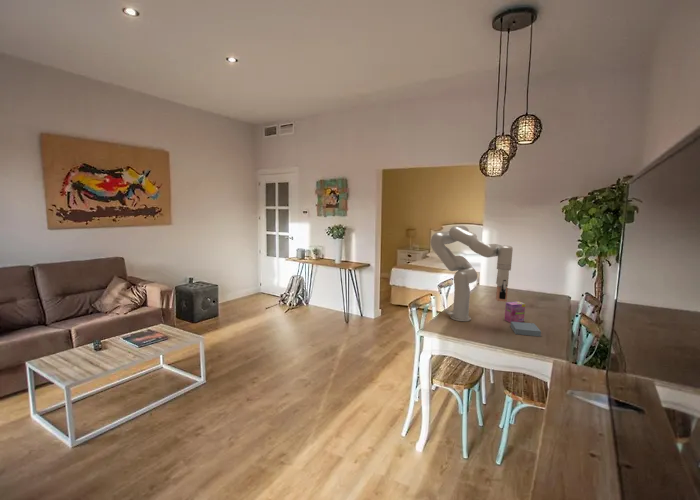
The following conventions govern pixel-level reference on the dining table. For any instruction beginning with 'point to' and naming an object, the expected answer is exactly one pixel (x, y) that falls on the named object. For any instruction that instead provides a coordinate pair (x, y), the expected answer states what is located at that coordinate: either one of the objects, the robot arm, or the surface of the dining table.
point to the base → (525, 329)
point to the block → (499, 294)
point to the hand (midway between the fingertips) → (501, 297)
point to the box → (514, 312)
